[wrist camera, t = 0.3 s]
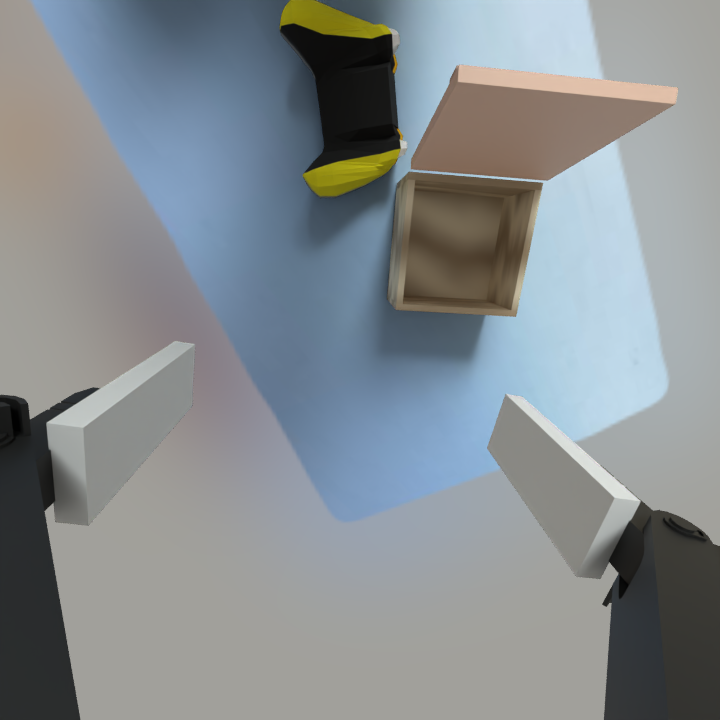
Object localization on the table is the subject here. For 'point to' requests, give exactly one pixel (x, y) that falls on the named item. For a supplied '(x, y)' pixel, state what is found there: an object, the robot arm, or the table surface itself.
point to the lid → (530, 121)
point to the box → (461, 243)
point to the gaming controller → (348, 94)
